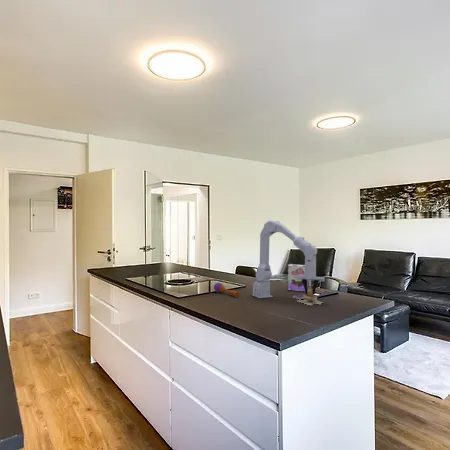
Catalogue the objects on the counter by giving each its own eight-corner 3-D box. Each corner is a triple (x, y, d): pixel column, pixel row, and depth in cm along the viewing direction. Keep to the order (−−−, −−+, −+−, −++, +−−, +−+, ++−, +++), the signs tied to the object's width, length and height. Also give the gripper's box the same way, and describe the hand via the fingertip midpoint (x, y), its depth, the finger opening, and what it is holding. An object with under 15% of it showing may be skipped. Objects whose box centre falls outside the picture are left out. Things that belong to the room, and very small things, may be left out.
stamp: (309, 301, 168) (309, 287, 168) (303, 299, 172) (303, 286, 172) (316, 300, 170) (317, 287, 170) (310, 298, 174) (310, 285, 174)
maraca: (232, 291, 180) (211, 283, 195) (233, 301, 181) (212, 292, 196) (240, 288, 183) (219, 280, 199) (241, 297, 184) (220, 289, 200)
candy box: (287, 290, 204) (287, 264, 204) (289, 289, 209) (290, 263, 209) (309, 293, 197) (309, 266, 197) (311, 291, 202) (311, 265, 203)
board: (308, 305, 164) (308, 304, 164) (296, 301, 173) (296, 300, 173) (323, 303, 168) (323, 302, 168) (311, 299, 177) (311, 298, 177)
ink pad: (299, 299, 177) (299, 297, 177) (292, 297, 183) (292, 295, 183) (311, 298, 181) (311, 296, 181) (304, 296, 186) (304, 294, 186)
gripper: (295, 268, 170) (295, 294, 170) (324, 270, 165) (323, 296, 165) (297, 267, 176) (297, 291, 176) (324, 268, 171) (324, 294, 171)
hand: (310, 294), depth 171 cm, fingers closed on stamp, 3 cm apart
